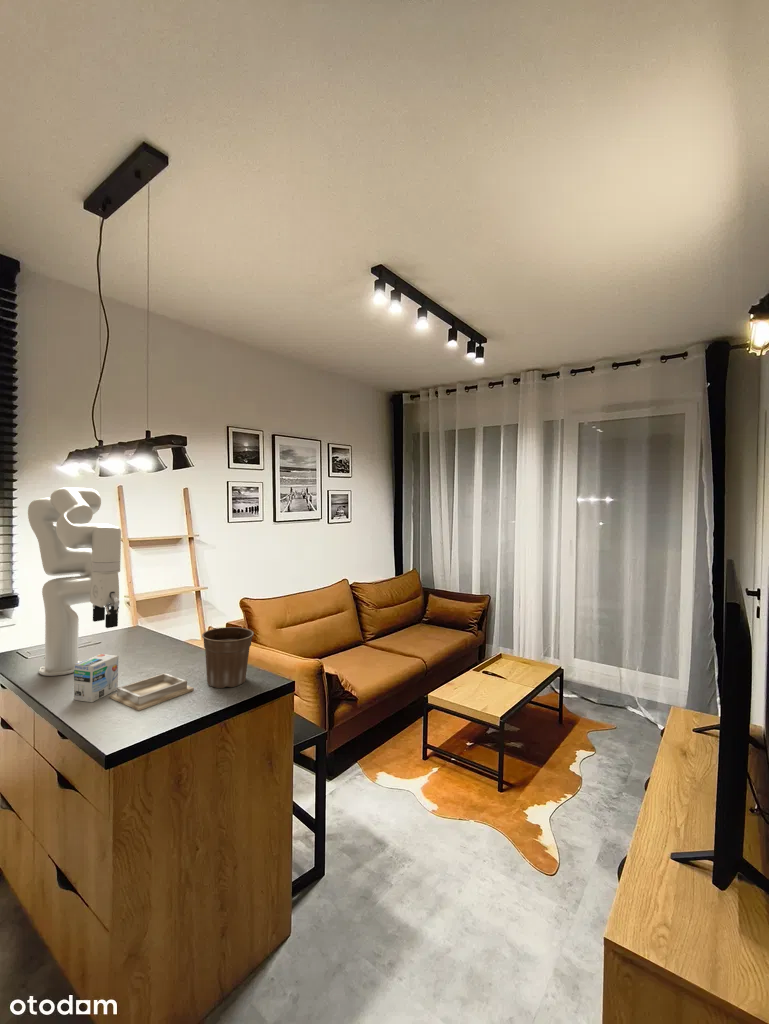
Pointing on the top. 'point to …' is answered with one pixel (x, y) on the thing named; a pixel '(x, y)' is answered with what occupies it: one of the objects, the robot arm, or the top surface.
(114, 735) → the top surface
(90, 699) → the light bulb box
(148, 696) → the collar
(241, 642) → the plant pot
